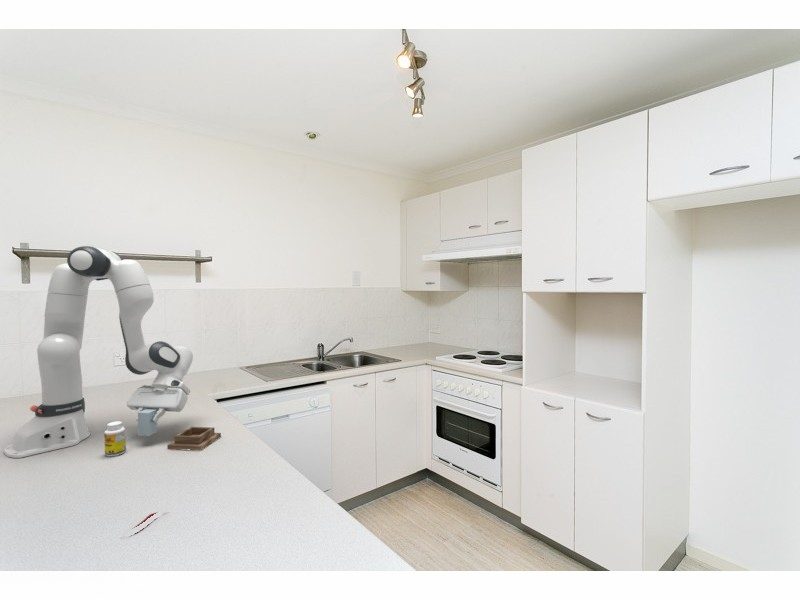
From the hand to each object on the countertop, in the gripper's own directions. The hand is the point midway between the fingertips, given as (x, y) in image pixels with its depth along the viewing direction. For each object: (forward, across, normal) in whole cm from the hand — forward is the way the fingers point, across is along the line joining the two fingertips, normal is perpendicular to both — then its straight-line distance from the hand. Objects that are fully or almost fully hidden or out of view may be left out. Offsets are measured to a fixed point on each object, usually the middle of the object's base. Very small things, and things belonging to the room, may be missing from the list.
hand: (146, 421), depth 136 cm
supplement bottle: (+11, -5, +1) cm, 13 cm away
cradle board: (+4, +16, +8) cm, 18 cm away
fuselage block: (+3, 0, +4) cm, 5 cm away
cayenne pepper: (+36, +34, -23) cm, 54 cm away
